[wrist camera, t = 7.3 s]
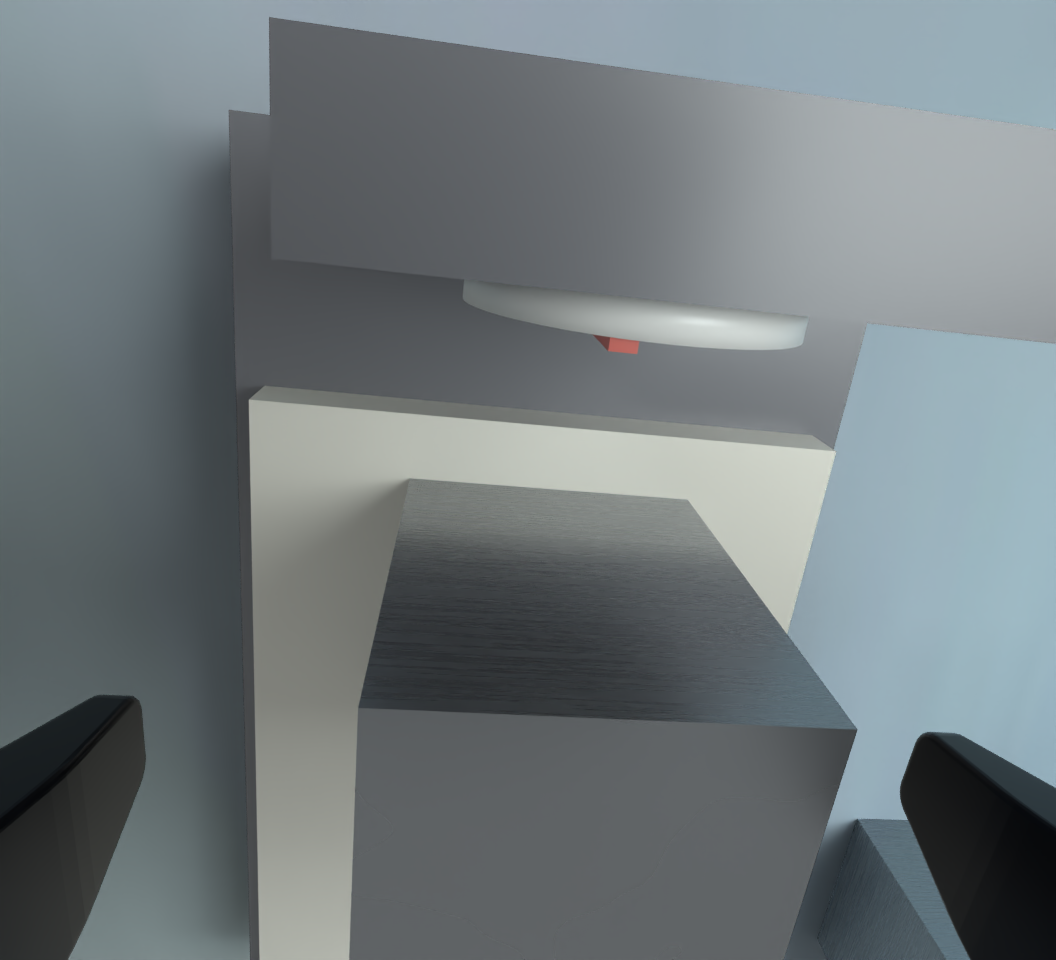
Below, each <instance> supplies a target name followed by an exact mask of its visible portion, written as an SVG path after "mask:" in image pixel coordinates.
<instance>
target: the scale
mask: <svg viewBox="0 0 1056 960" xmlns="http://www.w3.org/2000/svg"><path fill="white" fill-rule="evenodd" d="M269 58H270V115H265V114H257V113H249V112H241V111H234V110H229V137H230V177H231V216H232V255H233V295H234V334H235V374H236V413H237V453H238V492H239V532H240V571H241V611H242V650H243V690H244V729H245V769H246V808H247V848H248V887H249V927H250V960H349V948H350V920H351V892H352V863H353V835H354V807H355V779H356V751H357V723H358V706H359V702H360V697H361V693H362V688H363V684H364V679H365V675H366V671H367V666H368V662H369V657H370V653H371V649H372V644H373V640H374V635H375V631H376V626H377V622H378V618H379V613H380V609H381V604H382V600H383V595H384V591H385V587H386V582H387V578H388V573H389V569H390V565H391V560H392V556H393V551H394V547H395V542H396V538H397V534H398V529H399V525H400V520H401V516H402V511H403V507H404V503H405V498H406V494H407V489H408V485H409V481H410V478H412V479H425V480H438V481H451V482H464V483H477V484H490V485H503V486H516V487H529V488H542V489H555V490H568V491H581V492H595V493H608V494H621V495H634V496H647V497H660V498H673V499H686V500H688V501H689V502H690V504H691V505H692V506H693V508H694V509H695V510H696V512H697V513H698V514H699V516H700V517H701V518H702V520H703V521H704V523H705V524H706V525H707V527H708V528H709V529H710V531H711V532H712V533H713V535H714V536H715V537H716V539H717V540H718V541H719V543H720V544H721V546H722V547H723V548H724V550H725V551H726V552H727V554H728V555H729V556H730V558H731V559H732V560H733V562H734V563H735V565H736V566H737V567H738V569H739V570H740V571H741V573H742V574H743V575H744V577H745V578H746V579H747V581H748V582H749V583H750V585H751V586H752V588H753V589H754V590H755V592H756V593H757V594H758V596H759V597H760V598H761V600H762V601H763V602H764V604H765V605H766V606H767V608H768V609H769V611H770V612H771V613H772V615H773V616H774V617H775V619H776V620H777V621H778V623H779V624H780V625H781V627H782V628H783V630H784V631H785V632H786V634H787V633H788V629H789V625H790V622H791V618H792V614H793V611H794V607H795V603H796V599H797V596H798V592H799V588H800V585H801V581H802V577H803V573H804V570H805V566H806V562H807V559H808V555H809V551H810V547H811V544H812V540H813V536H814V533H815V529H816V525H817V521H818V518H819V514H820V510H821V507H822V503H823V499H824V495H825V492H826V488H827V484H828V481H829V477H830V473H831V469H832V466H833V462H834V458H835V455H836V451H835V450H833V449H834V446H835V442H836V438H837V434H838V431H839V427H840V423H841V419H842V416H843V412H844V408H845V404H846V401H847V397H848V393H849V390H850V386H851V382H852V378H853V375H854V371H855V367H856V363H857V360H858V356H859V352H860V348H861V345H862V341H863V337H864V334H865V330H866V326H867V323H870V324H879V325H888V326H897V327H907V328H916V329H925V330H934V331H943V332H953V333H962V334H971V335H980V336H989V337H999V338H1008V339H1017V340H1026V341H1035V342H1045V343H1054V344H1056V130H1055V129H1048V128H1041V127H1034V126H1027V125H1020V124H1013V123H1006V122H999V121H992V120H985V119H978V118H971V117H964V116H957V115H950V114H943V113H936V112H929V111H922V110H915V109H908V108H901V107H894V106H887V105H880V104H873V103H866V102H859V101H852V100H845V99H838V98H831V97H824V96H817V95H810V94H803V93H796V92H789V91H782V90H775V89H768V88H761V87H754V86H747V85H740V84H733V83H726V82H719V81H712V80H705V79H698V78H691V77H684V76H677V75H670V74H663V73H656V72H649V71H642V70H635V69H628V68H621V67H614V66H607V65H600V64H593V63H586V62H579V61H572V60H565V59H558V58H551V57H544V56H537V55H530V54H523V53H516V52H509V51H502V50H495V49H488V48H481V47H474V46H467V45H460V44H453V43H446V42H439V41H432V40H425V39H418V38H411V37H404V36H397V35H390V34H383V33H376V32H369V31H362V30H355V29H348V28H341V27H334V26H327V25H320V24H313V23H306V22H299V21H292V20H285V19H278V18H271V17H269Z"/></svg>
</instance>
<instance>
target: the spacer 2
mask: <svg viewBox="0 0 1056 960" xmlns="http://www.w3.org/2000/svg"><path fill="white" fill-rule="evenodd" d="M817 939H818V941H819V943H820V945H821V947H822V949H823V951H824V954H825V956H826V958H827V960H970V959H969V957H968V955H967V953H966V951H965V949H964V947H963V945H962V943H961V941H960V939H959V937H958V935H957V933H956V930H955V928H954V926H953V924H952V922H951V919H950V917H949V915H948V913H947V910H946V908H945V906H944V903H943V901H942V899H941V896H940V894H939V892H938V889H937V887H936V885H935V882H934V880H933V878H932V875H931V873H930V871H929V868H928V866H927V864H926V861H925V859H924V856H923V854H922V852H921V849H920V847H919V845H918V842H917V840H916V838H915V835H914V833H913V831H912V828H911V826H910V824H909V821H908V820H882V819H857V822H856V825H855V828H854V831H853V834H852V837H851V840H850V843H849V846H848V849H847V852H846V855H845V858H844V861H843V864H842V867H841V870H840V873H839V876H838V879H837V882H836V885H835V888H834V891H833V894H832V897H831V900H830V902H829V905H828V908H827V911H826V914H825V917H824V920H823V923H822V926H821V929H820V932H819V935H818V938H817Z"/></svg>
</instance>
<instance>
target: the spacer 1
mask: <svg viewBox="0 0 1056 960" xmlns="http://www.w3.org/2000/svg"><path fill="white" fill-rule="evenodd" d="M856 732H857V728H856V727H855V726H854V724H853V723H852V722H851V720H850V719H849V718H848V716H847V715H846V713H845V712H844V711H843V709H842V708H841V707H840V705H839V704H838V703H837V701H836V700H835V699H834V697H833V696H832V695H831V693H830V692H829V690H828V689H827V688H826V686H825V685H824V684H823V682H822V681H821V680H820V678H819V677H818V676H817V674H816V673H815V671H814V670H813V669H812V667H811V666H810V665H809V663H808V662H807V661H806V659H805V658H804V657H803V655H802V654H801V653H800V651H799V650H798V648H797V647H796V646H795V644H794V643H793V642H792V640H791V639H790V638H789V636H788V635H787V634H786V632H785V631H784V630H783V628H782V627H781V625H780V624H779V623H778V621H777V620H776V619H775V617H774V616H773V615H772V613H771V612H770V611H769V609H768V608H767V606H766V605H765V604H764V602H763V601H762V600H761V598H760V597H759V596H758V594H757V593H756V592H755V590H754V589H753V588H752V586H751V585H750V583H749V582H748V581H747V579H746V578H745V577H744V575H743V574H742V573H741V571H740V570H739V569H738V567H737V566H736V565H735V563H734V562H733V560H732V559H731V558H730V556H729V555H728V554H727V552H726V551H725V550H724V548H723V547H722V546H721V544H720V543H719V541H718V540H717V539H716V537H715V536H714V535H713V533H712V532H711V531H710V529H709V528H708V527H707V525H706V524H705V523H704V521H703V520H702V518H701V517H700V516H699V514H698V513H697V512H696V510H695V509H694V508H693V506H692V505H691V504H690V502H689V501H688V500H686V499H673V498H660V497H647V496H634V495H621V494H608V493H595V492H581V491H568V490H555V489H542V488H529V487H516V486H503V485H490V484H477V483H464V482H451V481H438V480H425V479H412V478H410V481H409V485H408V489H407V494H406V498H405V503H404V507H403V511H402V516H401V520H400V525H399V529H398V534H397V538H396V542H395V547H394V551H393V556H392V560H391V565H390V569H389V573H388V578H387V582H386V587H385V591H384V595H383V600H382V604H381V609H380V613H379V618H378V622H377V626H376V631H375V635H374V640H373V644H372V649H371V653H370V657H369V662H368V666H367V671H366V675H365V679H364V684H363V688H362V693H361V697H360V702H359V706H358V723H357V751H356V779H355V807H354V835H353V863H352V892H351V920H350V948H349V960H784V957H785V954H786V951H787V947H788V944H789V941H790V938H791V935H792V932H793V929H794V926H795V922H796V919H797V916H798V913H799V910H800V907H801V904H802V901H803V898H804V894H805V891H806V888H807V885H808V882H809V879H810V876H811V873H812V870H813V866H814V863H815V860H816V857H817V854H818V851H819V848H820V845H821V841H822V838H823V835H824V832H825V829H826V826H827V823H828V820H829V817H830V813H831V810H832V807H833V804H834V801H835V798H836V795H837V792H838V789H839V785H840V782H841V779H842V776H843V773H844V770H845V767H846V764H847V760H848V757H849V754H850V751H851V748H852V745H853V742H854V739H855V736H856Z"/></svg>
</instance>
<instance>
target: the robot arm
mask: <svg viewBox="0 0 1056 960" xmlns="http://www.w3.org/2000/svg"><path fill="white" fill-rule="evenodd" d="M145 762H146V755H145V743H144V731H143V719H142V709H141V705H140V702H139V700H138V699H136V698H135V697H134V696H122V695H97V696H94V697H92V698H90V699H88V700H86V701H84V702H83V703H81V704H79V705H77V706H75V707H74V708H72V709H70V710H68V711H67V712H65V713H63V714H61V715H59V716H58V717H56V718H54V719H52V720H51V721H49V722H47V723H45V724H43V725H42V726H40V727H38V728H36V729H35V730H33V731H31V732H29V733H28V734H26V735H24V736H22V737H20V738H19V739H17V740H15V741H13V742H12V743H10V744H8V745H6V746H4V747H3V748H1V749H0V960H68V958H69V956H70V954H71V952H72V950H73V948H74V946H75V944H76V942H77V940H78V938H79V936H80V934H81V932H82V930H83V928H84V926H85V924H86V921H87V919H88V917H89V914H90V912H91V909H92V907H93V904H94V902H95V900H96V897H97V895H98V892H99V889H100V887H101V884H102V882H103V879H104V877H105V874H106V871H107V869H108V866H109V864H110V861H111V859H112V856H113V853H114V851H115V848H116V846H117V843H118V841H119V838H120V835H121V833H122V830H123V828H124V825H125V823H126V820H127V817H128V815H129V812H130V810H131V807H132V805H133V802H134V799H135V797H136V794H137V792H138V789H139V787H140V784H141V781H142V778H143V774H144V770H145ZM900 798H901V803H902V807H903V810H904V812H905V814H906V817H907V819H908V821H909V824H910V826H911V828H912V831H913V833H914V835H915V838H916V840H917V842H918V845H919V847H920V849H921V852H922V854H923V856H924V859H925V861H926V864H927V866H928V868H929V871H930V873H931V875H932V878H933V880H934V882H935V885H936V887H937V889H938V892H939V894H940V896H941V899H942V901H943V903H944V906H945V908H946V910H947V913H948V915H949V917H950V919H951V922H952V924H953V926H954V928H955V930H956V933H957V935H958V937H959V939H960V941H961V943H962V945H963V947H964V949H965V951H966V953H967V955H968V957H969V959H970V960H1056V788H1055V787H1053V786H1051V785H1049V784H1048V783H1046V782H1044V781H1042V780H1040V779H1039V778H1037V777H1035V776H1033V775H1032V774H1030V773H1028V772H1026V771H1024V770H1023V769H1021V768H1019V767H1017V766H1015V765H1014V764H1012V763H1010V762H1008V761H1007V760H1005V759H1003V758H1001V757H999V756H998V755H996V754H994V753H992V752H990V751H989V750H987V749H985V748H983V747H982V746H980V745H978V744H976V743H974V742H973V741H971V740H969V739H967V738H965V737H964V736H962V735H959V734H955V733H942V732H926V733H923V734H922V735H921V736H920V737H919V738H918V739H917V741H916V743H915V746H914V749H913V751H912V754H911V757H910V760H909V762H908V765H907V768H906V771H905V774H904V776H903V779H902V782H901V786H900Z"/></svg>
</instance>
